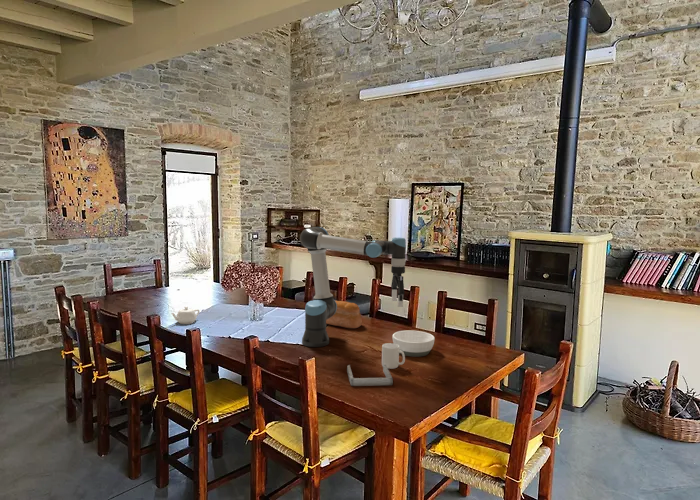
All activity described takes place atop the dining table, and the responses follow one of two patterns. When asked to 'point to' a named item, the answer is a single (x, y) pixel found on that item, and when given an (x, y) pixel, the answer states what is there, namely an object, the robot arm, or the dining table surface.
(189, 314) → the teapot
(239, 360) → the dining table surface
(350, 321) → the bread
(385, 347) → the cup
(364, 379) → the bracket
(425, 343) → the bowl
